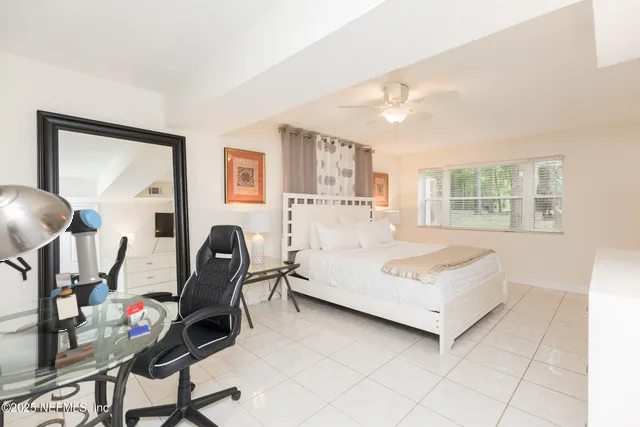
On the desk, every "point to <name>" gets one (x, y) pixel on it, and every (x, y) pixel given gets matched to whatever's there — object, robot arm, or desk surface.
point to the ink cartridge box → (136, 313)
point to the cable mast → (70, 331)
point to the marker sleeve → (67, 307)
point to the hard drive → (139, 331)
